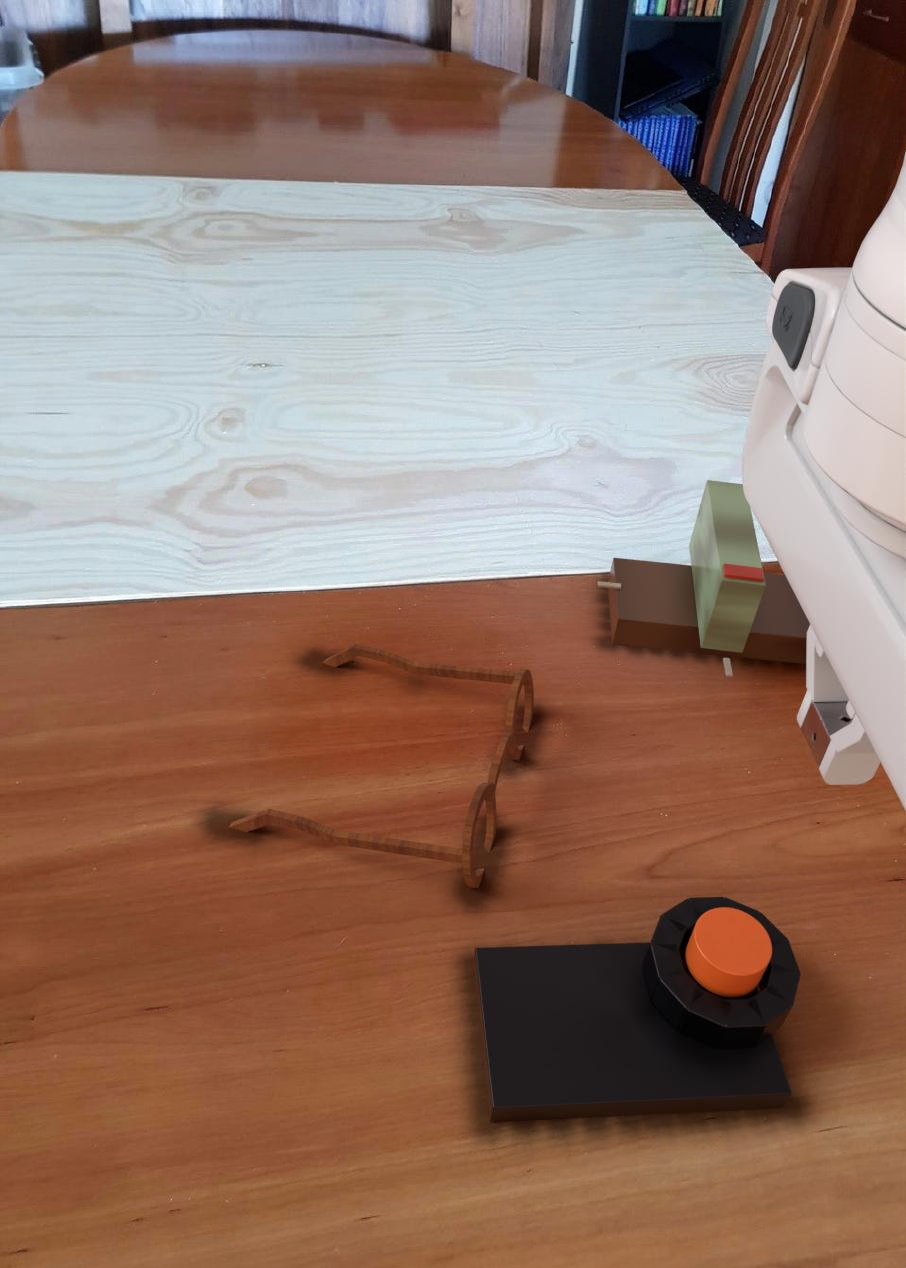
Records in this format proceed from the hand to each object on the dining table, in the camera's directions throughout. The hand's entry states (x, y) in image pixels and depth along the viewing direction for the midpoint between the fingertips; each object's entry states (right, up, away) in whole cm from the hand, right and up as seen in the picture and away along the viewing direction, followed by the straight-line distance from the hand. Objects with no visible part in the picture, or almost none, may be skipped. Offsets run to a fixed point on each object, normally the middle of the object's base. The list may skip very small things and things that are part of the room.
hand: (830, 754), depth 38 cm
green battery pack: (+2, +7, +27) cm, 28 cm away
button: (-2, -10, +7) cm, 12 cm away
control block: (-6, -13, +8) cm, 17 cm away
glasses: (-17, -3, +18) cm, 25 cm away
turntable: (+2, +4, +29) cm, 29 cm away
